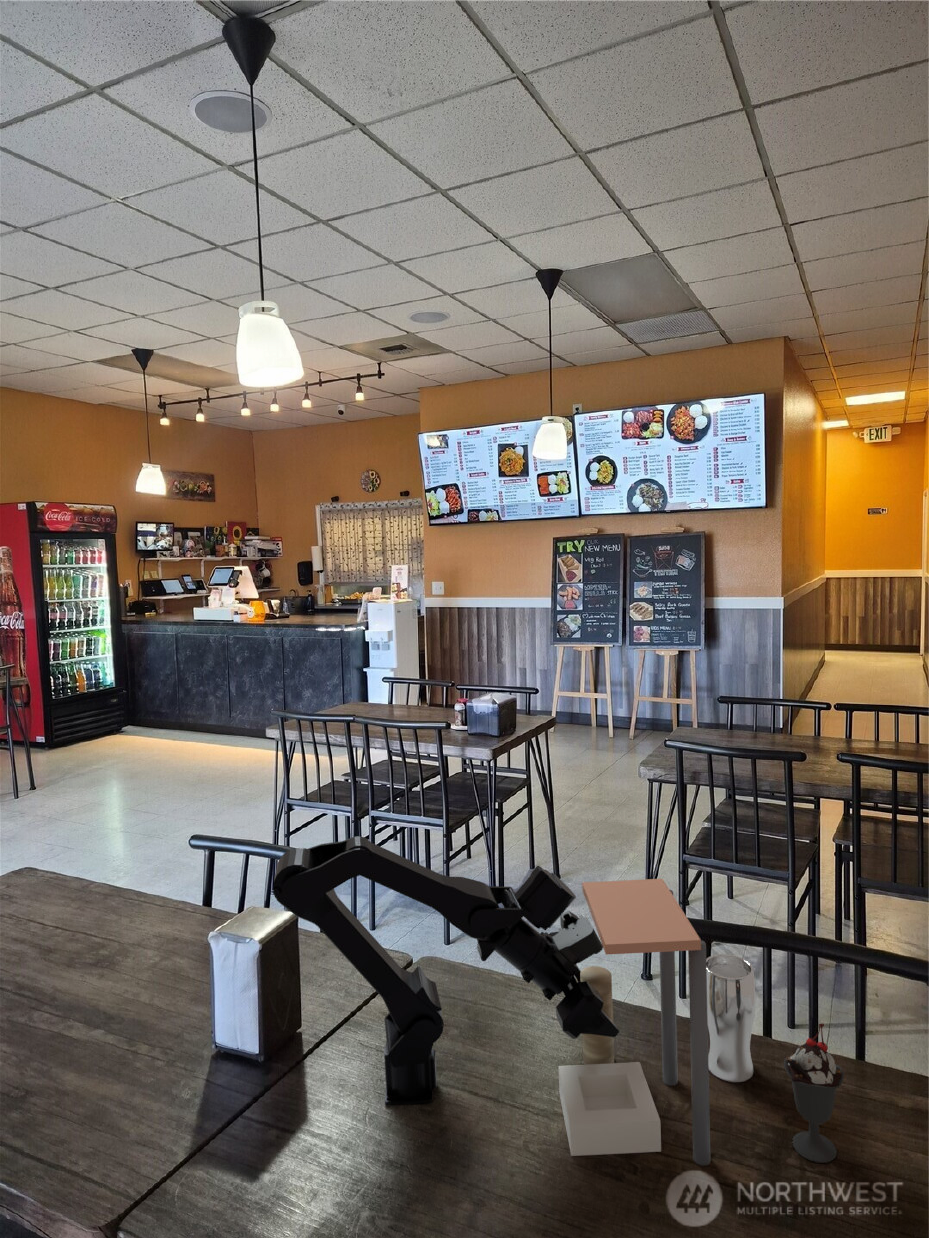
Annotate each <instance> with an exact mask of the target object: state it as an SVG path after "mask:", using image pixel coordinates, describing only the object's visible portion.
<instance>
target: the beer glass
mask: <svg viewBox="0 0 929 1238" xmlns="http://www.w3.org/2000/svg"><path fill="white" fill-rule="evenodd" d="M706 968H707V1016H708V1035H709V1050H708V1064H709V1071H710V1072H711V1074H712V1075H713V1076H715V1077H717V1078H718V1079H720V1080H723V1081H726V1082H731V1083H741V1082H742V1083H743V1082H746V1081H748V1080H749V1079H751V1078H752V1077H753V1074H754V1066H753V1061H752V1056H751V1055H752V1054H751V1038H752V1032H753V1026H754V1022H755V1021H754V1020H755V1015H756V1004H757V1003H756V1000H757V999H756V984H755V975H754V974H755V972H754V967H753V965H752V963H751V962H750V961H748V960H746V959H744V958H743V957H741V956H737V955H733V954H726V953H725V954H724V953H721V954H719V953H718V954H713V955H710V956H708V957H706Z"/></svg>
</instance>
